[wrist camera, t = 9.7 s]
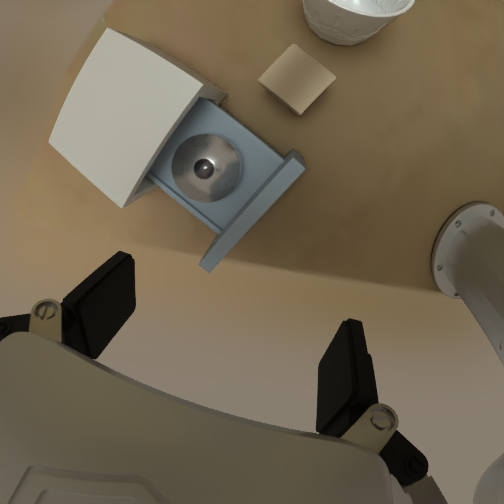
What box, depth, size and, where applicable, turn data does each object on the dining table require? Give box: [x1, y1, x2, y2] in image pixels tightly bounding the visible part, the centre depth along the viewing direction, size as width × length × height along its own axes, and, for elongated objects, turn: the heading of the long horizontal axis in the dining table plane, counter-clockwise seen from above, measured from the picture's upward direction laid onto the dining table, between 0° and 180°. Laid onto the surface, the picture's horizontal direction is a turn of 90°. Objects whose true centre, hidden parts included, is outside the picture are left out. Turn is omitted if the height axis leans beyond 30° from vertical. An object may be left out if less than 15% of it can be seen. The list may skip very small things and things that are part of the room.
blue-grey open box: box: [145, 97, 306, 273], centre depth 23 cm, size 11×12×7 cm
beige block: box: [258, 44, 337, 116], centre depth 19 cm, size 4×4×6 cm
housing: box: [49, 28, 227, 208], centre depth 21 cm, size 11×12×8 cm
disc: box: [171, 133, 243, 203], centre depth 23 cm, size 6×6×2 cm
